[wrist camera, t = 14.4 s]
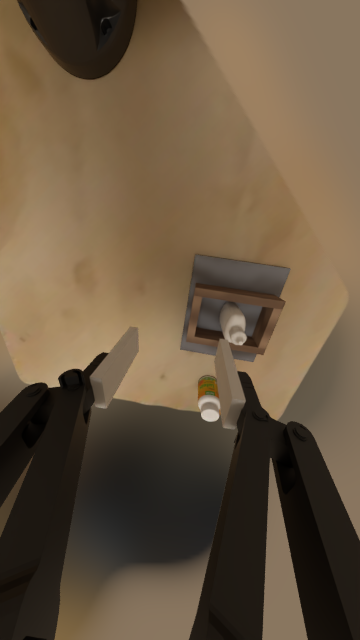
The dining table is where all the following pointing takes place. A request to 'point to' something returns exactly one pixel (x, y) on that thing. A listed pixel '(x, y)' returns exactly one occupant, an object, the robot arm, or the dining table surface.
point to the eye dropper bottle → (233, 323)
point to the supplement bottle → (208, 398)
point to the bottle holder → (237, 287)
